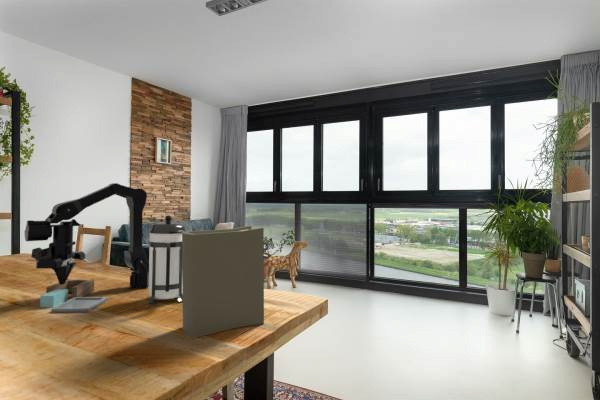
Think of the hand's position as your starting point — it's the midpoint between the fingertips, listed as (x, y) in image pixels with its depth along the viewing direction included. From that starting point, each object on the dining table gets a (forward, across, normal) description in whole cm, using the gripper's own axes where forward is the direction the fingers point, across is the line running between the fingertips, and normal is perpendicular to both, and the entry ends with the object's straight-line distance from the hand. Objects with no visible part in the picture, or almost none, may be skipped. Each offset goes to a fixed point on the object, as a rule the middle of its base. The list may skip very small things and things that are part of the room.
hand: (62, 284), depth 119 cm
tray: (+6, +7, +10) cm, 13 cm away
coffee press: (+6, +1, +36) cm, 36 cm away
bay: (+6, -6, 0) cm, 8 cm away
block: (+4, 0, 0) cm, 4 cm away
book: (+6, +27, +58) cm, 64 cm away
